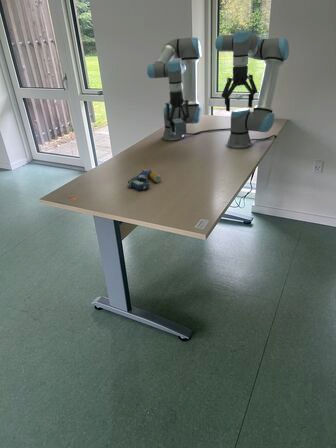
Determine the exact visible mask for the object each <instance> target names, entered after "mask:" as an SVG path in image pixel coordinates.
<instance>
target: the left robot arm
mask: <svg viewBox="0 0 336 448" xmlns="http://www.w3.org/2000/svg"><path fill="white" fill-rule="evenodd" d="M201 57H202V48H201V42H200V39H199V38H198V37H183V38H174V39H171V40H169V41H168V42H167V43H165V44H164V45H163V46H162V48H161V51H160V54H159V56H158V57H157V59H156V61H155V62H154V63H152V64H148V65H147V67H146V72H147V73H146V74H147V76H148V78H149V79H163V78H164V79H165V78H168V90H169V102H165V104H164V105H165V107H164V108H163V122H164V130H163V135H162V139H163V140H164V141H167V142H176V141H180V140H182V139H184V137H185V134H183V135H178V136H176V135H175V134H173V133H172V132H174V121H172V120H174V119H179V118H181V119H182V120H184V121H186V125H188V124H191V125H194V124H198V123H199V122H200V121H201V116H202V105H200V102H198V97H197V95H198V89H197V85H198V84H197V82H198V81H197V78H198V77H197V76H198V75H197V72H198V71H197V64H198V62H199V61H200V58H201ZM174 59H180V60H174ZM183 91H184V92H183ZM171 130H172V132H171ZM228 130H230V131H231V127H230V128H229V127H228V128H227V127H226V128H216V129H207V130H200V131H197V132H194V133H192V132H191V133H189V132H186V133H187V134H186V135H189V136H193V135H198V134H201V133H206V132H215V131H228Z"/></svg>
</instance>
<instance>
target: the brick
mask: <svg viewBox="0 0 336 448" xmlns="http://www.w3.org/2000/svg"><path fill="white" fill-rule="evenodd" d="M172 121H174V132H172V130H171V132H172V133H173V134H175V135H176V136H178V135H188V134H187V133H188V132H187V124H186V121H184V120H182V119H181V118H179V119H174V120H172Z"/></svg>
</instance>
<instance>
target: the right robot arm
mask: <svg viewBox="0 0 336 448" xmlns="http://www.w3.org/2000/svg"><path fill="white" fill-rule="evenodd" d="M214 44H215V50H216V51H218V52H229V53H232V77H227V78H226V83H225V86H224V88H223V91H222V93H221V95H220V96H221V98H224V105H225V111H226V112H231V113H230V128H231V130H230V135H229V137H228V139H227V146H228V147H229V148H232V149H246V148H249V147H251V145H252V141H264V140H269V139H272V138H274V137H275V138H277V135H276V134H272V135H270V136H268V137H264V138H251V136H250V133H249V131H250V132H258V133H267V132H269V131H270V130H271V129H272V127H273V125H274V121H275V113H274V112H273V111H274V110H273V109H272V103H273V99H274V94H275V90H276V85H277V81H278V76H279V71H280V67H281V66H283V64H284V61H286V60H288V58H289V54H290V43H289V41H288V39H287V38H286V37H272V38H271V37H270V38H260V36H259V35H258V34H257V33H255V32H251V33H250V30H247V29H244V30H243V29H242V30H236V31H234V33H233V34H222V35H217V36H216V38H215V43H214ZM249 59H253V60H256V61H262V63H263V64H264V68H263V69H264V70H263V74H262V79H261V82H260V88H259V93H258V88H257V86H256V83H255V80H254V74H251V73H249V66H248V65H249ZM247 80H248V81H247ZM240 86H244V87H245V89H246V90H247V91H248V93H249V94H248V99H247V102H248V103H247V107H241V108H236V109H234V110H232V111H231V98H230V97H231V96H232V93H233V92H234V90H235V89H236V88H237V87H240ZM256 93H258V98H257V101H256V105H255V106H254V107H253V101H254V100H255V99H254V98H255V95H256ZM251 108H253V110H250V109H251Z"/></svg>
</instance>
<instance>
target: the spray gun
mask: <svg viewBox="0 0 336 448" xmlns="http://www.w3.org/2000/svg"><path fill="white" fill-rule="evenodd" d="M149 179H150V180H152V181H153V182H154V183H160V182H161V180H162V177H161V175H159V174H158V173H157V172H155V171H152V169H141V170H140V171H139V172H138V173H137V174H136V175H134V176H133V177H132V178H130V179H129V180H128V181H127V184H126V187H129V188H134V189H135V190H138V191H141V190H142V191H143V190H147V189H148V188H149V187H150V182H149Z"/></svg>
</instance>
